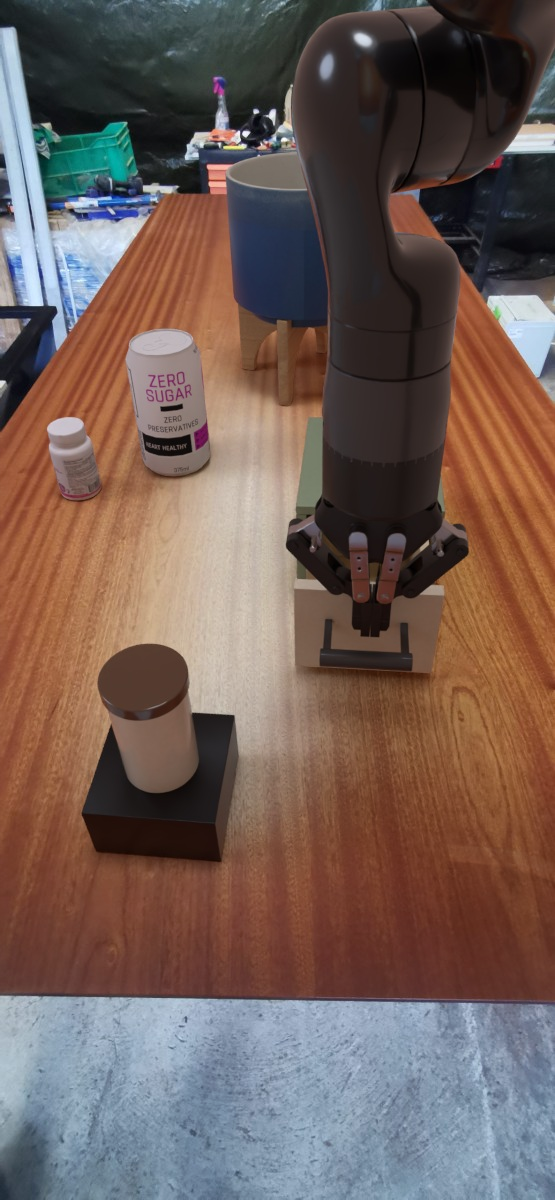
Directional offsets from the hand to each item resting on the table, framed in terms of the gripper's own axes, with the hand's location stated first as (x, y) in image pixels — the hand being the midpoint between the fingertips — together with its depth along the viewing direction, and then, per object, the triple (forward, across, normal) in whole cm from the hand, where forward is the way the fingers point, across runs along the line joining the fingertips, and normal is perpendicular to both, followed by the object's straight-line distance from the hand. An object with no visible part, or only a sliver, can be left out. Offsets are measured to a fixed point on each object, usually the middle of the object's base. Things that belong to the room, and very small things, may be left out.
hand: (370, 629), depth 56 cm
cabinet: (+8, 0, +20) cm, 21 cm away
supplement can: (+8, -24, +36) cm, 43 cm away
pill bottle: (+8, -34, +29) cm, 45 cm away
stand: (+8, -14, -11) cm, 20 cm away
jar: (+3, -14, -11) cm, 18 cm away
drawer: (+7, 0, +7) cm, 10 cm away
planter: (+8, -10, +60) cm, 61 cm away
